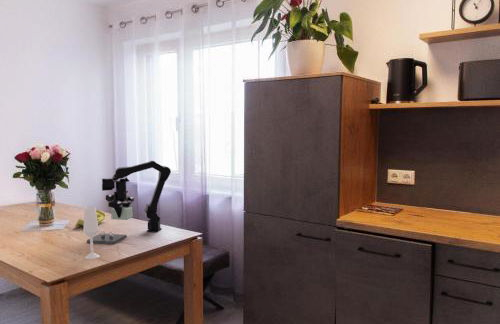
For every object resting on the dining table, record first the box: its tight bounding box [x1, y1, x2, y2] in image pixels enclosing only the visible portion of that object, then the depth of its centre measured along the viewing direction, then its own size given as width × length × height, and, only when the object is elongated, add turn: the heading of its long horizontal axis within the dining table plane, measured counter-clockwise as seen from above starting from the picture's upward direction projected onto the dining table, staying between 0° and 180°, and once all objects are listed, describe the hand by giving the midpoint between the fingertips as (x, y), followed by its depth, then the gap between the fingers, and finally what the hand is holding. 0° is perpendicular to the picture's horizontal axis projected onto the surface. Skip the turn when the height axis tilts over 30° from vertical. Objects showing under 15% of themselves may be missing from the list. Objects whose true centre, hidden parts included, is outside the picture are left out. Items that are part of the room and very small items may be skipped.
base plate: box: [86, 230, 128, 245], centre depth 212 cm, size 16×13×4 cm
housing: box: [110, 206, 134, 221], centre depth 223 cm, size 10×6×6 cm, turn 79°
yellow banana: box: [74, 209, 107, 228], centre depth 246 cm, size 20×7×10 cm
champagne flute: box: [82, 205, 100, 260], centre depth 184 cm, size 7×7×24 cm
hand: (122, 216), depth 223 cm, fingers closed on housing, 6 cm apart
